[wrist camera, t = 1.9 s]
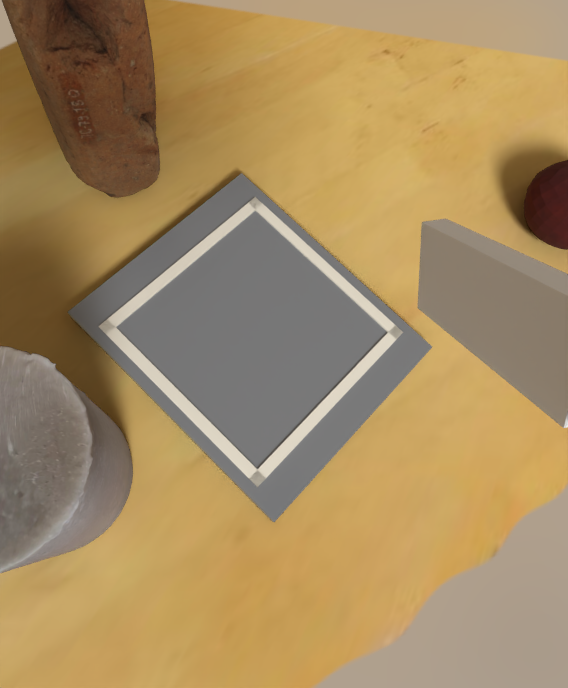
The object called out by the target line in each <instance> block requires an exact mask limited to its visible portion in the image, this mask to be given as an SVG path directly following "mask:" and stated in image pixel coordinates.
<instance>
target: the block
mask: <svg viewBox="0 0 568 688" xmlns="http://www.w3.org/2000/svg"><path fill="white" fill-rule="evenodd" d="M2 2H3V5H4V8H5V10H6V13H7V16H8V18H9V21H10V24H11V26H12V29H13V32H14V34H15V37H16V39H17V42H18V44H19V47H20V49H21V52H22V54H23V57H24V60H25V62H26V65H27V67H28V70H29V72H30V75H31V77H32V80H33V82H34V85H35V87H36V90H37V92H38V95H39V97H40V99H41V101H42V104H43V106H44V109H45V112H46V114H47V117H48V119H49V121H50V123H51V125H52V128H53V131H54V133H55V135H56V138H57V140H58V142H59V145H60V147H61V149H62V151H63V154H64V156H65V158H66V160H67V162H68V163H69V164H70V166H71V169H72V170H73V172H74V173H75V174H76V176H77V177H78V178H79V179H81V180H82V181H83V182H84V183H86V184H87V185H89V186H91V187H93V188H96V189H98V190H100V191H103V192H105V193H106V194H108V195H109V196H111V197H118V198H119V197H123V196H128V195H132V194H134V193H137V192H138V191H140V190H142V189H145V188H148V187H149V186H150V185H152V184H153V183H154V182H155V181H156V180H157V178H158V174H159V170H160V160H159V148H158V141H157V137H156V133H155V132H156V125H155V119H156V101H155V98H156V93H155V76H154V63H153V55H152V46H151V40H150V33H149V27H148V20H147V14H146V8H145V3H144V0H2Z"/></svg>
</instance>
